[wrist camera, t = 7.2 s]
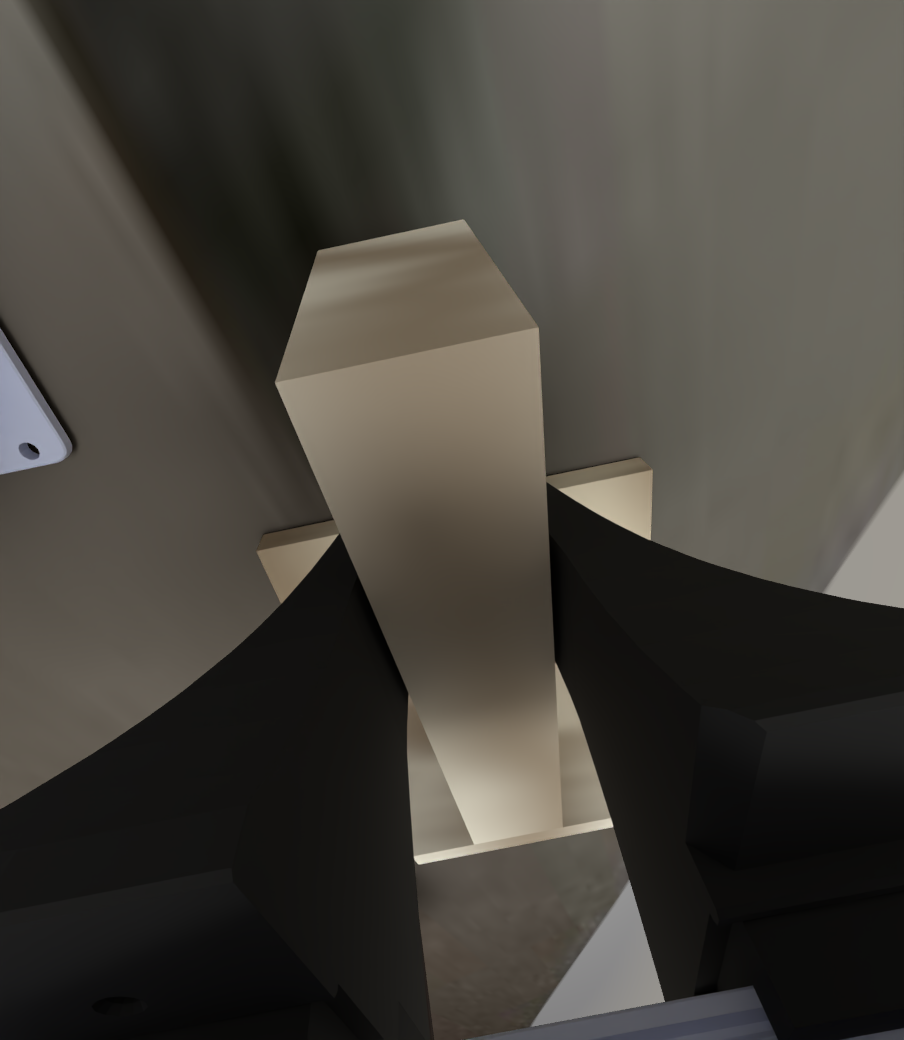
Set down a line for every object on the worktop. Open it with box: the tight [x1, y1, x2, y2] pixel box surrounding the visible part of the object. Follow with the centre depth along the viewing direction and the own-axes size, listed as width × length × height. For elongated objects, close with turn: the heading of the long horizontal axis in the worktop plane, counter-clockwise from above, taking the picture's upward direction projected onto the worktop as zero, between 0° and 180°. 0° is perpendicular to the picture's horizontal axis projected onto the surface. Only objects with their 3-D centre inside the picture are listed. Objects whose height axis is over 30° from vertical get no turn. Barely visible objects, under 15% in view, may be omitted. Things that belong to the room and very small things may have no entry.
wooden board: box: [256, 457, 653, 604], centre depth 20 cm, size 13×15×1 cm
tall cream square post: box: [275, 219, 613, 865], centre depth 11 cm, size 6×15×5 cm, turn 11°
